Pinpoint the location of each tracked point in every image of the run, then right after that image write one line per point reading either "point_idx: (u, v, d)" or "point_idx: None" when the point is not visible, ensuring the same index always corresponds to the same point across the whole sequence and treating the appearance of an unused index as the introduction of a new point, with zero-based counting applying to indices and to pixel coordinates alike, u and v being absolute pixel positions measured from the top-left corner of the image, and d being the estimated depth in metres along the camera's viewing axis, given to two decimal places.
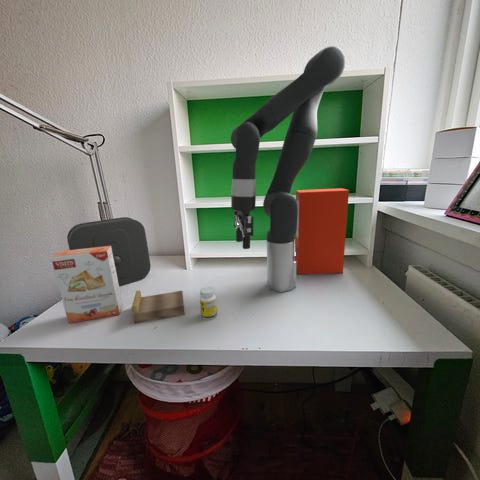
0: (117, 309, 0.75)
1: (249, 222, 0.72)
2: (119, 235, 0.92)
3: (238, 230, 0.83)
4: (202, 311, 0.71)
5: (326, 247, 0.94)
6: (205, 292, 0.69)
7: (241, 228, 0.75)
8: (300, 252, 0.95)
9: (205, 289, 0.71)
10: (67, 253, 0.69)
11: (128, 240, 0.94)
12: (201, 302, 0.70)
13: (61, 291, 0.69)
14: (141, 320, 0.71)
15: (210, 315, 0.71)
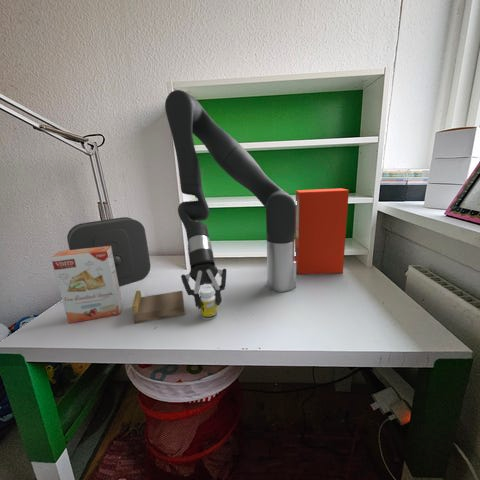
0: (117, 309, 0.75)
1: (183, 281, 0.73)
2: (119, 235, 0.92)
3: (215, 292, 0.73)
4: (202, 311, 0.71)
5: (326, 247, 0.94)
6: (205, 291, 0.69)
7: None
8: (300, 252, 0.95)
9: (205, 289, 0.71)
10: (67, 253, 0.69)
11: (128, 240, 0.94)
12: (201, 302, 0.70)
13: (61, 291, 0.69)
14: (141, 320, 0.71)
15: (210, 315, 0.70)
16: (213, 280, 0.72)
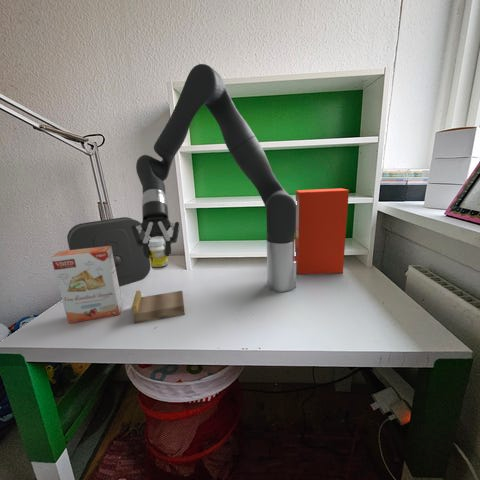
0: (117, 309, 0.75)
1: (133, 232, 0.72)
2: (119, 235, 0.92)
3: None
4: (151, 261, 0.71)
5: (326, 247, 0.94)
6: (154, 241, 0.69)
7: None
8: (300, 252, 0.95)
9: (154, 239, 0.71)
10: (67, 253, 0.69)
11: (128, 240, 0.94)
12: (150, 252, 0.70)
13: (61, 291, 0.69)
14: (141, 320, 0.71)
15: (159, 265, 0.70)
16: (164, 232, 0.72)
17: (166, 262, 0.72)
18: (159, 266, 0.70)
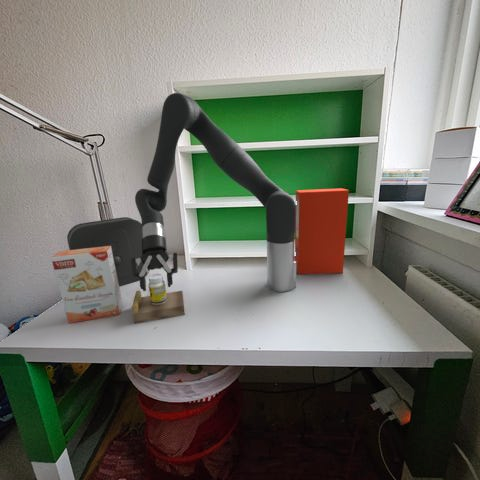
0: (117, 309, 0.75)
1: None
2: (119, 235, 0.92)
3: None
4: (151, 297, 0.74)
5: (326, 247, 0.94)
6: (153, 278, 0.73)
7: None
8: (300, 252, 0.95)
9: (154, 275, 0.75)
10: (67, 253, 0.69)
11: (128, 240, 0.94)
12: (149, 288, 0.73)
13: (61, 291, 0.69)
14: (141, 320, 0.71)
15: (158, 301, 0.74)
16: (164, 264, 0.76)
17: (165, 297, 0.75)
18: (158, 301, 0.74)
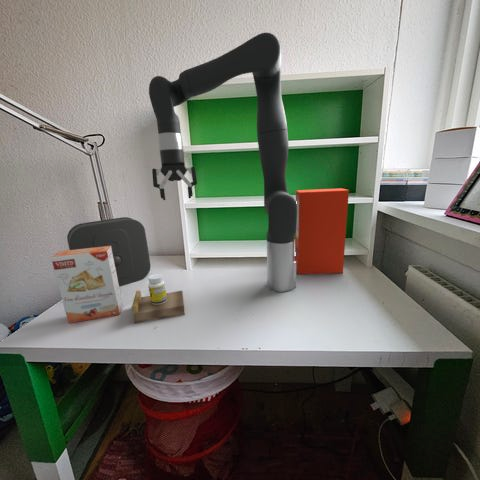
0: (117, 309, 0.75)
1: (153, 174, 0.82)
2: (119, 235, 0.92)
3: None
4: (151, 297, 0.74)
5: (326, 247, 0.94)
6: (153, 278, 0.73)
7: None
8: (300, 252, 0.95)
9: (153, 275, 0.75)
10: (67, 253, 0.69)
11: (128, 240, 0.94)
12: (149, 288, 0.73)
13: (61, 291, 0.69)
14: (141, 320, 0.71)
15: (158, 301, 0.74)
16: (184, 179, 0.83)
17: (165, 297, 0.75)
18: (158, 301, 0.74)
